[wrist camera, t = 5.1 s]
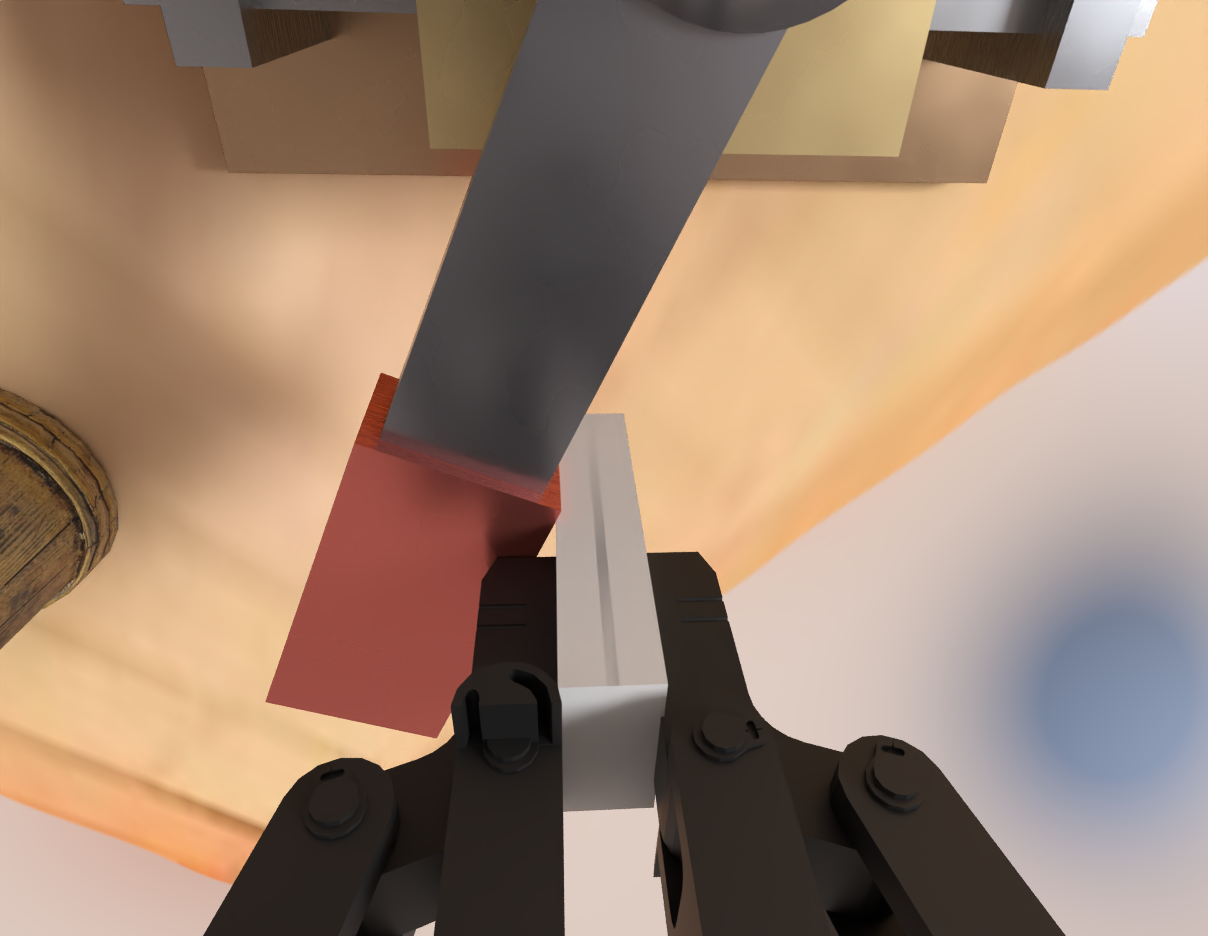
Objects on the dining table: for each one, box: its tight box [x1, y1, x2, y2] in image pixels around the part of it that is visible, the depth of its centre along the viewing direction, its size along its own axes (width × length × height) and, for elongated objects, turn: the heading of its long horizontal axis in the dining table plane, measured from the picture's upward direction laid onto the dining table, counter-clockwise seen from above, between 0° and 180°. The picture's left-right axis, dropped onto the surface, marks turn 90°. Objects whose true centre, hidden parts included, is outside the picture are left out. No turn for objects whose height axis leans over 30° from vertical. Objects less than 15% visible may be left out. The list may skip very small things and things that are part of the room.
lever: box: [266, 0, 847, 738], centre depth 11 cm, size 16×4×2 cm, turn 154°
